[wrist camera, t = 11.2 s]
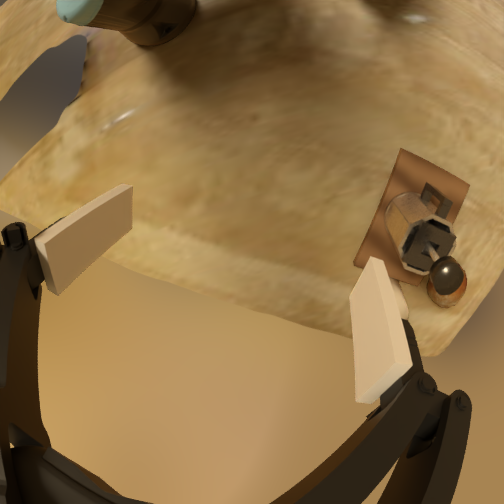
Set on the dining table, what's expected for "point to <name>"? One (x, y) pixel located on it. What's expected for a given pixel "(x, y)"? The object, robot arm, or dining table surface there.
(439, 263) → the plunger
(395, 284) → the cream egg shape
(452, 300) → the bread roll
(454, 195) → the board
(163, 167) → the dining table surface
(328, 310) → the dining table surface
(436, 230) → the grey faceted handled container
